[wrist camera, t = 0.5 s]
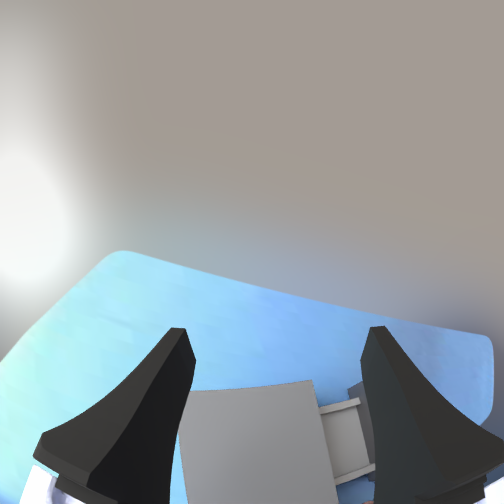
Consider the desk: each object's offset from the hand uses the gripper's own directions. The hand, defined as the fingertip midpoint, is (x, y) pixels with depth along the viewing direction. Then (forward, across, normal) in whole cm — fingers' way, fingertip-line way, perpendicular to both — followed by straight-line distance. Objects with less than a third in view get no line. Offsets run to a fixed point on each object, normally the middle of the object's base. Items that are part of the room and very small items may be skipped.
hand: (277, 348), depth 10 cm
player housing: (0, +3, +19) cm, 19 cm away
